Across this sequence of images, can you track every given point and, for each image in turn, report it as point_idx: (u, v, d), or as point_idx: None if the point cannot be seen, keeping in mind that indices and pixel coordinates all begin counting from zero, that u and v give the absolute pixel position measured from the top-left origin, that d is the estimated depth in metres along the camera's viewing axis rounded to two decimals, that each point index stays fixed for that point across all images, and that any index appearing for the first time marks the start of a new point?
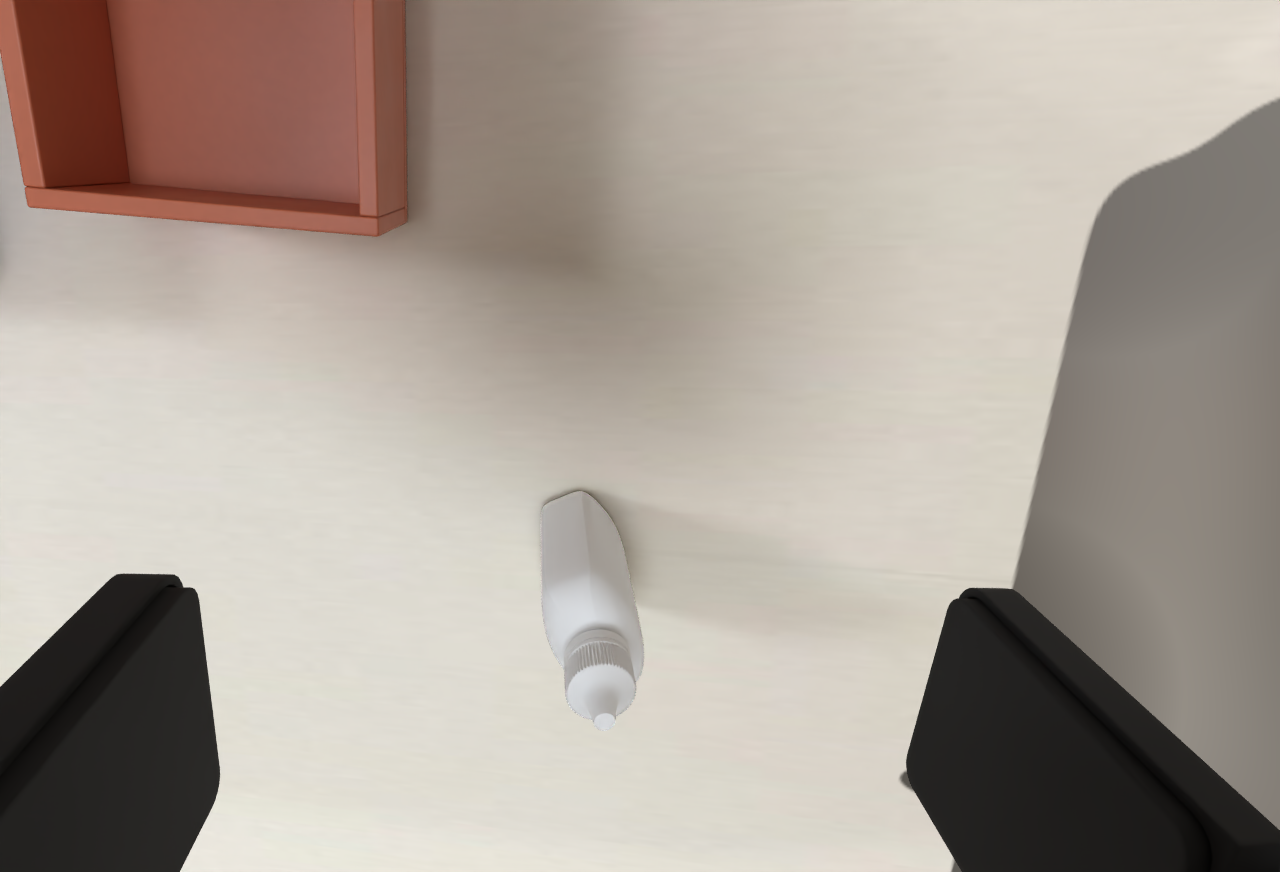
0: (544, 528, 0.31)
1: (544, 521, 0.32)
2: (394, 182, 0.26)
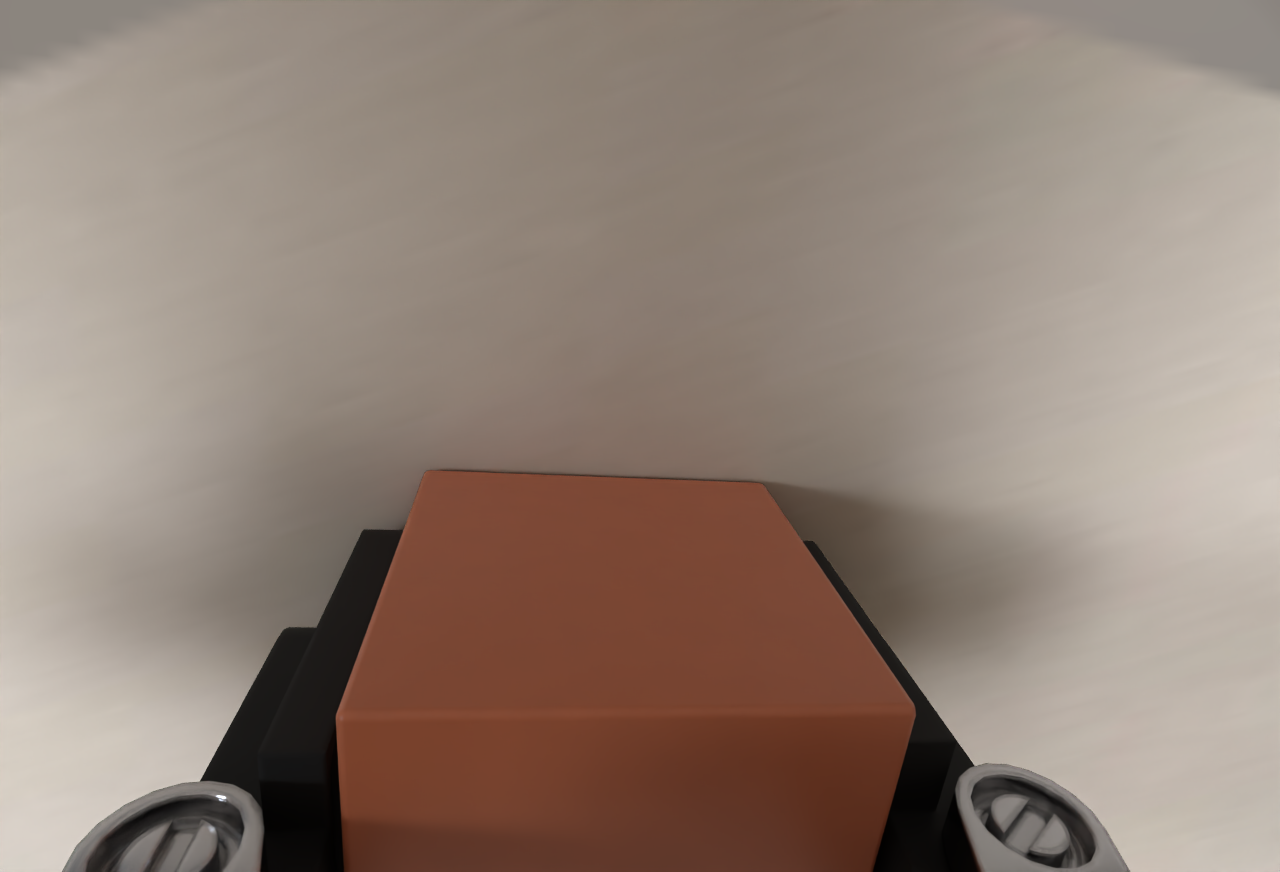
0: None
1: None
2: None
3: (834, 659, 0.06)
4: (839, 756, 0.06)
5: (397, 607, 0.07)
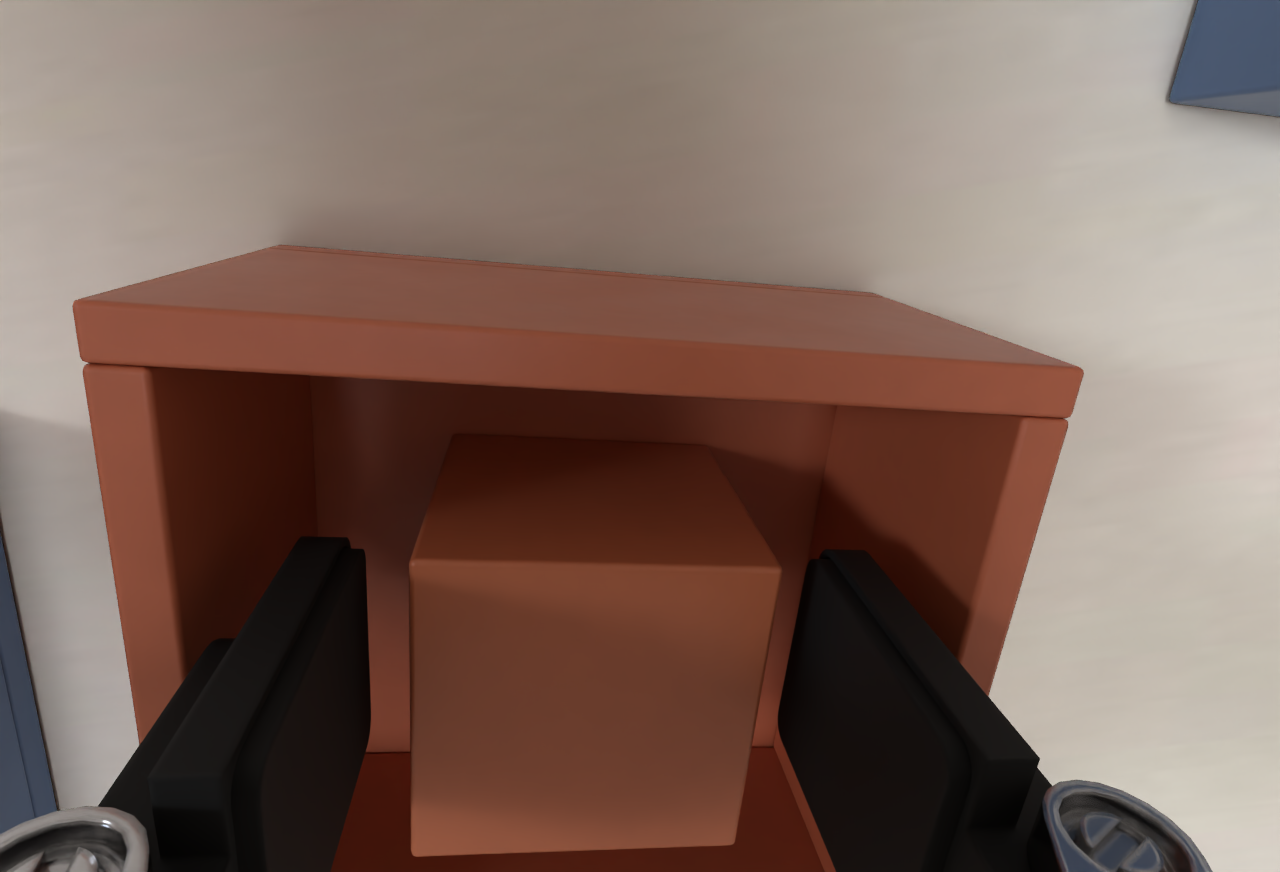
0: None
1: None
2: None
3: (733, 543, 0.10)
4: (731, 599, 0.09)
5: (441, 510, 0.10)
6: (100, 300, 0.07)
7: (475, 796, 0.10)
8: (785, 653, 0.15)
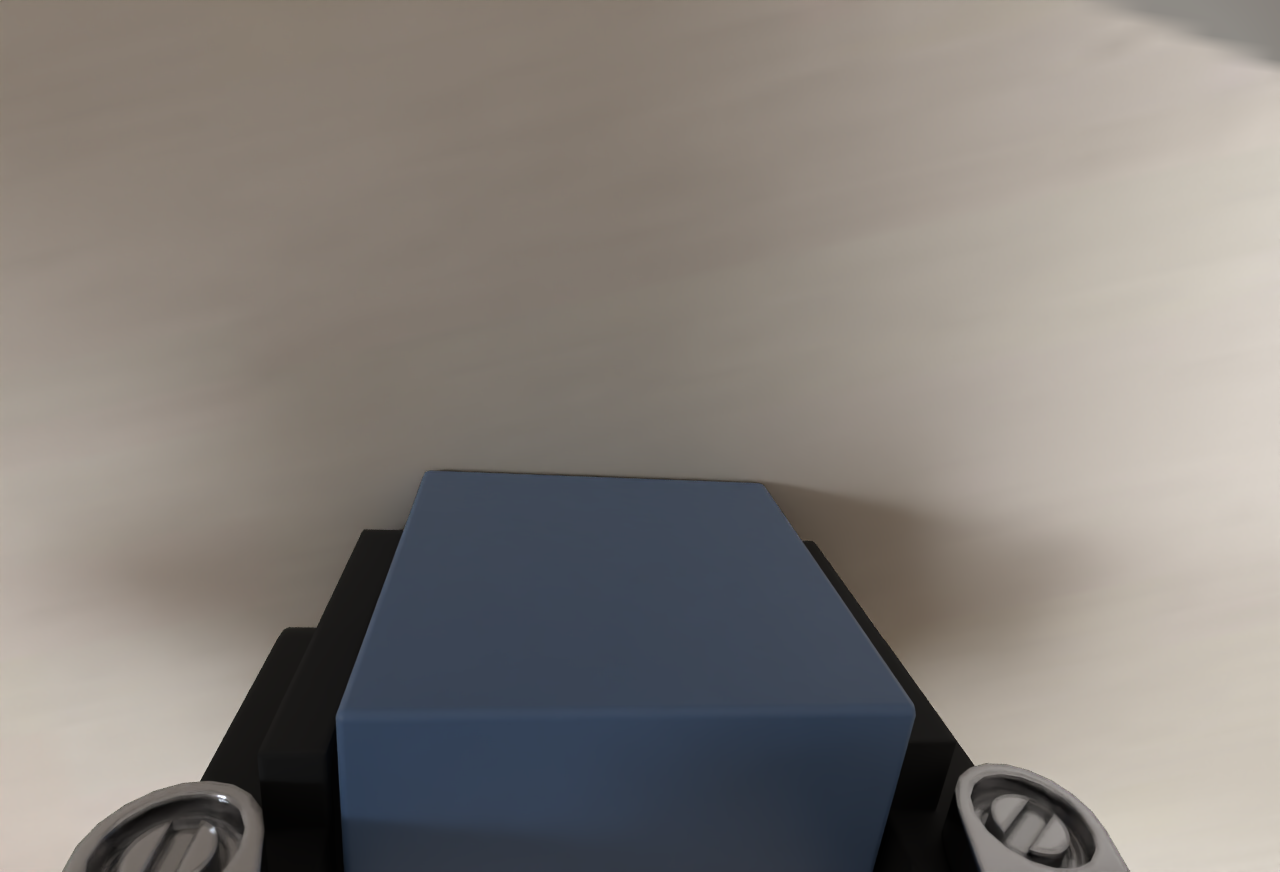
0: None
1: None
2: None
3: None
4: None
5: None
6: None
7: None
8: None
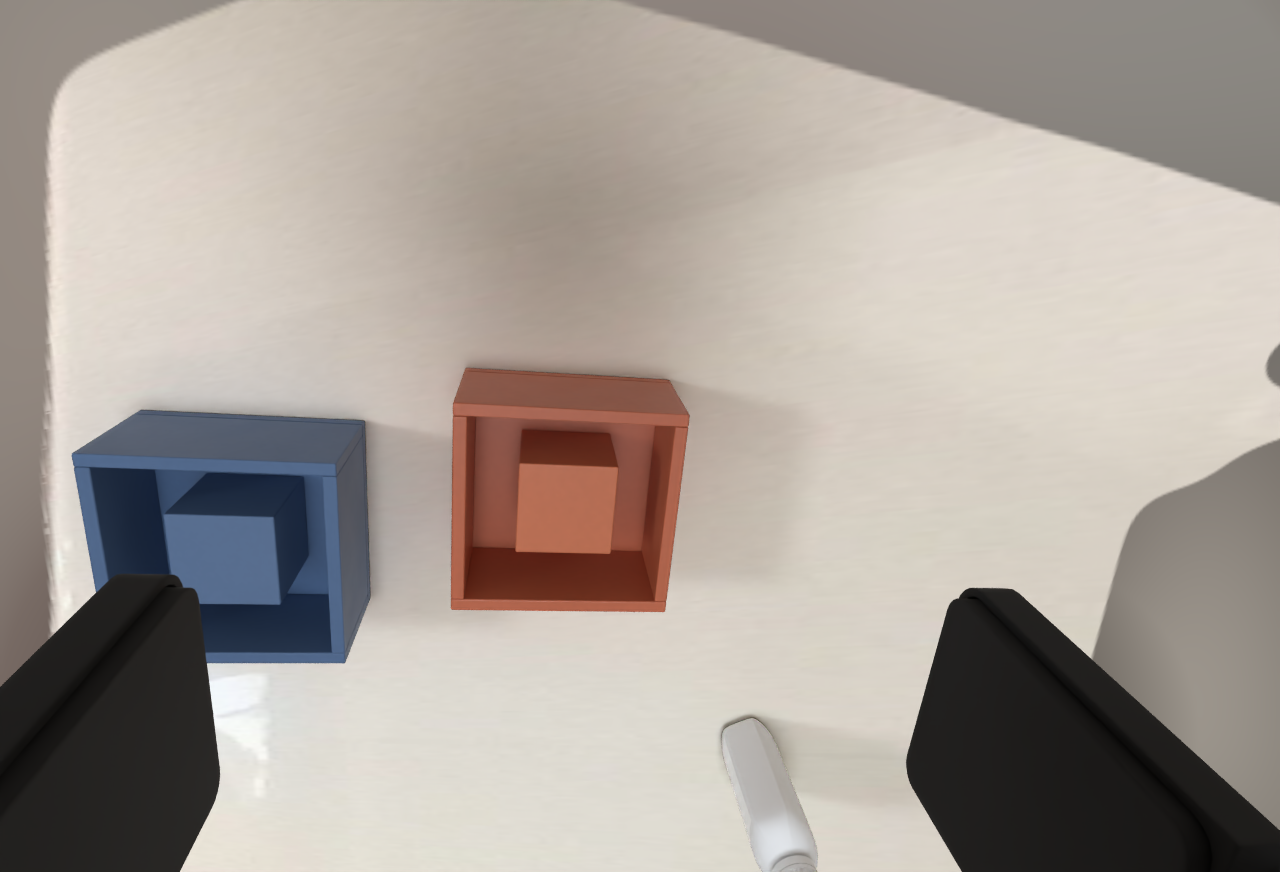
0: (734, 757, 0.44)
1: (732, 749, 0.44)
2: None
3: (607, 461, 0.34)
4: (604, 475, 0.34)
5: (524, 452, 0.34)
6: (458, 402, 0.31)
7: (534, 532, 0.34)
8: (644, 512, 0.40)
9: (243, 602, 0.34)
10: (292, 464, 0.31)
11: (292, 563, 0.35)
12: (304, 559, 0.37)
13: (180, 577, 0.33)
